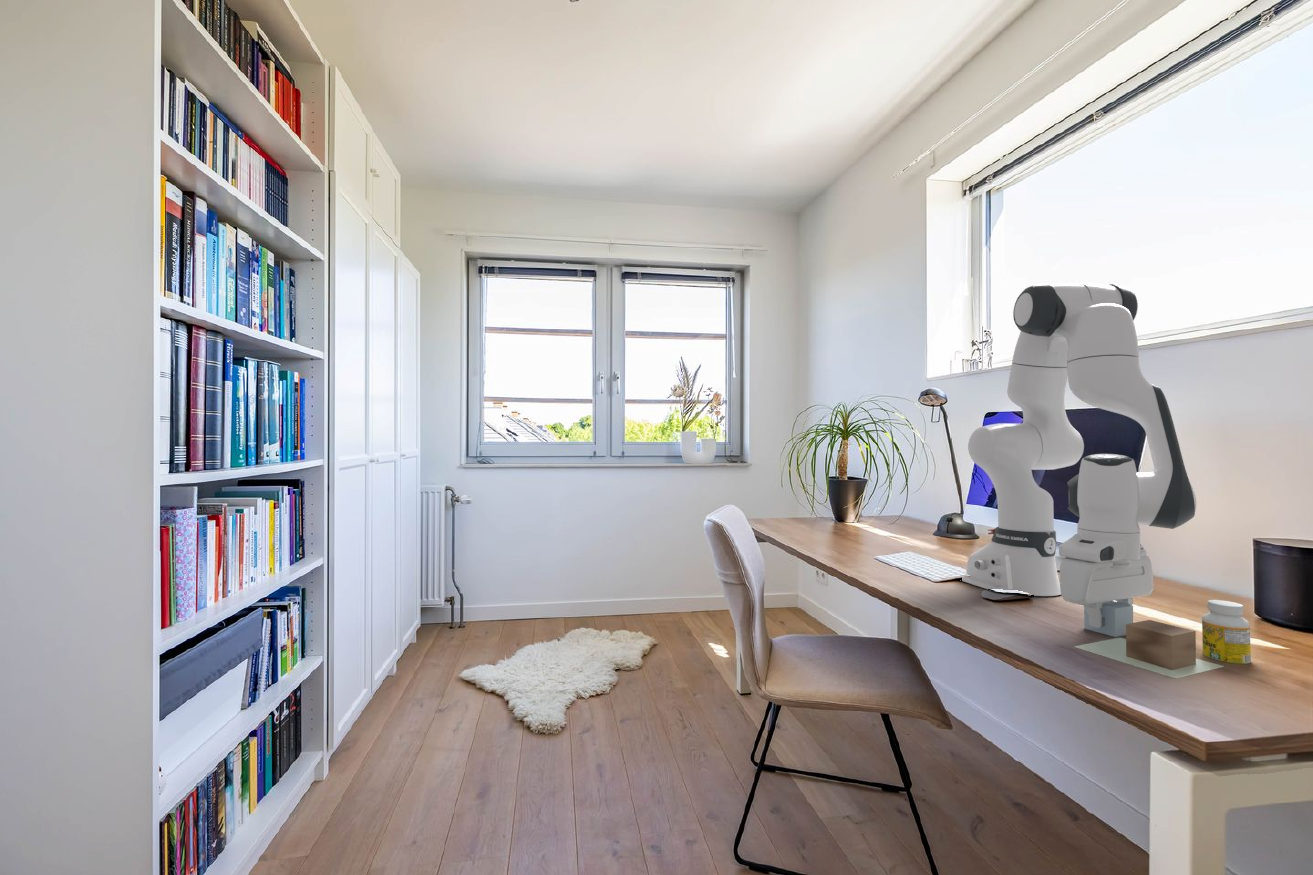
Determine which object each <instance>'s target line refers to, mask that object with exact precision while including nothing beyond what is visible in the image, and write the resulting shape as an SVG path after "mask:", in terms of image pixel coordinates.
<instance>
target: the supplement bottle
mask: <svg viewBox="0 0 1313 875" xmlns="http://www.w3.org/2000/svg"><path fill="white" fill-rule="evenodd" d="M1206 605H1207V606H1206V608H1207V609H1208V611H1209V612H1207V613H1205V614H1203V616H1202V618H1201V626H1202V628H1201V629H1202V630H1201V631H1202V637H1201V638H1202V655H1204V657H1207V658H1210V659H1212V660H1215V661H1220V662H1224V663H1228V664H1238V665H1247V664H1248V665H1249V664H1251V662H1252V658H1251V657H1252V655H1251V653H1252V652H1251V625H1250V622H1249V621H1248V620H1247V619H1246V618H1244V617H1242V616H1243V615H1244V613H1245V612H1244V611H1245V610H1244V605H1243V604H1241V603H1238V602H1234V601H1229V600H1221V599H1220V600H1219V599H1209V600H1207V604H1206Z"/></svg>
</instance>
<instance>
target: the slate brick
mask: <svg viewBox="0 0 1313 875" xmlns="http://www.w3.org/2000/svg"><path fill="white" fill-rule="evenodd" d="M1083 608H1084V609H1083V611H1084V612H1083V615H1084V618H1083V619H1084V621H1083V622H1084V623H1083V624H1084V625H1083V626H1084V629H1085V630H1089V631H1091V632H1096V633H1098V634H1103V635H1107V636H1110V637H1114V638H1119V637H1123V636H1126V624H1130V623H1134V606H1133V604H1132V605H1127V604H1123V603H1119V602H1117V601H1115V600H1114V601H1108V602H1102V608H1099V609H1100V612H1101V615H1102V617H1105V622H1104V623H1105V626H1104V627H1100V628H1096V627H1093V626H1090V624H1089V615H1088V613H1087V611H1086V609H1085V607H1084V606H1083Z"/></svg>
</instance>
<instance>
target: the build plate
mask: <svg viewBox="0 0 1313 875" xmlns="http://www.w3.org/2000/svg"><path fill="white" fill-rule="evenodd" d="M1073 648H1077V649H1079V650H1083V651H1086V652H1089V653H1093V654H1095V655H1100V656H1101V657H1102V656H1103V657H1106V658H1108V659H1111V660H1114V661H1118V662H1120V663H1124V664H1127V665H1131V666H1134V667H1137V668H1140V669H1143V670H1147V671H1150V672H1153V673H1156V674H1159V675H1163V676H1166V677H1169V678H1172V679H1176V680H1178V679H1181V678H1185V677H1188V676H1189V677H1190V676H1193V675H1196V674H1200V673H1204V672H1208V671H1212V670H1216V669H1220V668H1225V666H1224V665H1221V664H1218V663H1213V662H1211V661H1206V660H1203V659H1200V658H1196V665H1192V666H1187V667H1183V668H1179V669H1175V670H1169V669H1166V668H1163V667H1160V666H1156V665H1153V664H1150V663H1146V662H1143V661H1140V660H1136V659H1133V658H1130V657H1126V638H1124V637H1122V636H1118V637H1114V638H1109V639H1105V640H1100V641H1095V642H1090V643H1084V644H1080V645H1079V644H1078V645H1074V646H1073Z"/></svg>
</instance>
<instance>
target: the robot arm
mask: <svg viewBox="0 0 1313 875" xmlns="http://www.w3.org/2000/svg"><path fill="white" fill-rule="evenodd" d="M1138 304H1139V303H1138V299H1137V296H1136V294H1135V293H1134V291H1133V290H1132V289H1130V288H1129V287H1125V286H1123V285H1118V284H1113V283H1110V284H1102V283H1095V282H1093V283H1092V282H1075V283H1071V282H1069V283H1055V284H1049V283H1039V284H1035V285H1030V286H1028V287H1026V288H1025V289H1024V290H1023V291H1021V293H1020V294H1019V295H1018V297H1017V299H1016V300H1015V302H1014V307H1013V313H1012V314H1013V316H1012V317H1013V322H1014V324H1015V327H1017V329H1018V330H1019V331H1020V333H1019V336H1018V337H1017V341H1016V345H1015V348H1014V351H1013V355H1012V361H1011V367H1010V372H1009V377H1008V385H1007V391H1006V393H1007V396H1008V398H1009V400H1010V401H1011V402H1012V403H1014V404H1015V405H1016V406H1018V407H1020V409H1021V411H1022V417H1023V418H1022V423H1021V422H1017V423H1010V422H1008V423H1007V422H1006V423H1003V422H1002V423H1001V422H999V423H993V424H988V425H983V426H979V427H977V428H976V429H974V431H972V434H970V437H969V439H968V444H967V450H968V453H969V454H968V455H969V457H970V459H971V460H972V462H973V463H975V465H977V467H979V468H980V469H982V471H984V473H985V474H986V475H987V476H988V478H989V480H990V481H991V483H992V485H993V487H994V490H995V494H996V495H995V496H996V501H997V518H998V519H997V522H998V523H997V524H998V525H997V527H995V528H994V529H993V528H991V529H987V531H988V533H987V534H988V535H992V537H991V540H990V542H989V543H986V545H984V546H982V547H980V548H979V549H977V550H976V551H973V552H972V553H971V554H970V555H969V557H968V559H967V562H966V568H965V569H966V571H965V572H966V574H968V575H970V577H962V582H965V583H967V584H969V585H973V586H977V587H980V588H982V589H984V590H985V589H986V590H988V589H1003V590H1018V591H1023V592H1028V593H1030V594H1032V595H1034V596H1033V597H1054V596H1055V597H1056V596H1059V595H1061V597H1062V599H1063V601H1065V602H1066V603H1067V602H1068V603H1071V604H1075V605H1078V606H1083V608H1084V607H1085V609H1086V611H1087V613H1088V615H1089V624H1090V626H1093V627H1096V628H1100V627H1104V626H1105V623H1104V622H1105V617H1102V615H1101V612H1100V609H1099V608H1102V602H1108V601H1114V602H1119V603H1123V604H1127V605H1132V606H1133V603H1134V599H1133V598H1137V597H1145V596H1151V594H1152V593H1153V590H1154V575H1153V566H1152V561H1151V558H1150V557H1149V555H1147V550H1146V549H1145V548H1144V547H1143V545H1142V544H1141V528H1140V526H1149V527H1154V528H1155V527H1156V528H1163V529H1171V530H1174V529H1176V528H1179V527H1181V526H1183V525H1185V524H1186V523H1188V522H1189V521H1190V520H1192V519H1193V518H1194V517H1195V515H1196V511H1197V497H1196V494H1195V491H1194V488H1193V486H1192V484H1191V481H1190V479H1189V477H1188V472H1187V470H1186V467H1185V462H1184V458H1183V456H1182V452H1181V447H1180V443H1179V439H1178V435H1177V432H1176V428H1175V424H1174V421H1173V417H1172V414H1171V410H1170V406H1169V404H1168V403H1169V402H1168V400H1167V398H1166V396H1165V394H1164V392H1163V390H1162V389H1161V387H1160V386H1159V385H1158V386H1157V385H1156V384H1153V383H1150V381H1148V379H1147V378H1146V377H1145V375H1144V373H1143V372H1142V370H1141V368H1140V367H1141V365H1140V358H1139V356H1140V355H1139V345H1138V336H1137V332H1136V328H1135V322H1134V320H1135V318H1136V317H1137V314H1138V308H1139V307H1138V306H1139V305H1138ZM1067 382H1068V385H1069V386H1068V387H1069V390H1070V391H1071V392H1072V394H1073V395H1074V396H1075V397H1076V399H1077V398H1078V399H1079V400H1081V401H1082V402H1083V403H1085V404H1087V405H1089V406H1092V407H1095V408H1097V409H1100V410H1105V411H1108V412H1111V413H1115V414H1119V415H1122V416H1125V417H1128V418H1130V419H1132V420H1133V421H1135V422H1137V423H1138V424H1139V426H1141V427H1142V428H1143V430H1144V431H1145V435H1146V439H1147V444H1148V447H1149V451H1150V455H1151V458H1152V459H1151V460H1152V464H1153V467H1154V469H1153V470H1151V471H1148V472H1138V471H1137V467H1136V466H1137V465H1136V463H1135V460H1134V458H1131V457H1129V456H1127V455H1123V454H1115V453H1095V454H1090V455H1087V456H1084V457H1083V454H1084V448H1085V443H1084V439H1083V437H1082V435H1081V434H1080V432H1079V431H1078V430H1076V428H1075V427H1074V426H1073V425H1072V424H1071V422H1070V420H1069V418H1068V415H1067V412H1066V406H1065V394H1066V387H1067ZM1081 458H1082V459H1081ZM1080 460H1081V461H1080ZM1079 461H1080V466H1079V472H1078V474H1076V475H1074V476H1073V477H1072V478H1071V479H1069V480H1068V481H1067V482H1066V483H1067V488H1068V507H1067V510H1069V511H1070V512H1071V513H1072V514H1074V515H1075V516H1076V517H1078V518H1079V519H1078V522H1077V531H1076V532H1077V533H1075V534H1073V536H1072V537H1070V538H1069V539H1068V540H1065V541H1064V542H1062V543H1060V545H1059V547H1058V555H1059V556H1060V557H1063V559H1062V560H1061V562H1060V566H1059V574H1058V570H1057V564H1056V562H1057V561H1056V550H1057V532H1056V531H1055V530H1054V521H1055V520H1054V513H1055V512H1054V511H1055V510H1054V499H1053V496H1052V495H1051V493H1049V492H1048V490H1045V489H1044V488H1042V487H1040V486H1039V485H1038V483H1037V482H1036V480H1035V479H1034V476H1033V470H1034V471H1039V470H1040V471H1042V470H1043V471H1044V470H1045V471H1046V470H1048V471H1049V470H1058V469H1062V468H1066V467H1071V466H1074V465H1076V464H1077V463H1078V462H1079Z"/></svg>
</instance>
